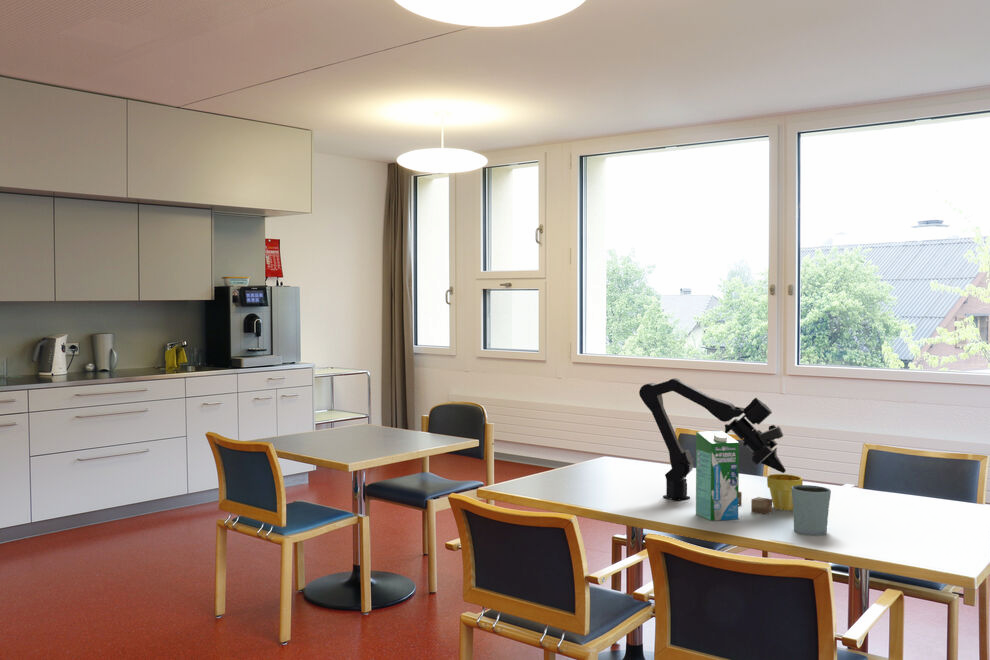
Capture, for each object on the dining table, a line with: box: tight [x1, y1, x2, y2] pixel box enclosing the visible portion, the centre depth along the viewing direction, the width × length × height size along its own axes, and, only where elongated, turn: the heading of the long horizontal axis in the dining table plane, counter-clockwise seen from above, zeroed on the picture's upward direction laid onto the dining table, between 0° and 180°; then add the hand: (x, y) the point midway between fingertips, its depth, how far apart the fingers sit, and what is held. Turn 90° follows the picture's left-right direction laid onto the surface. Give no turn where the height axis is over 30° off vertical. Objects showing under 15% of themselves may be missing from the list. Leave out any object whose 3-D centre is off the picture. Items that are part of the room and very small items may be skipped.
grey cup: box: [791, 484, 832, 536], centre depth 225 cm, size 10×10×12 cm
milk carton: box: [695, 430, 740, 522], centre depth 242 cm, size 9×9×25 cm
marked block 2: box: [750, 496, 773, 515], centre depth 248 cm, size 4×4×4 cm
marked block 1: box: [738, 491, 743, 505], centre depth 260 cm, size 4×4×4 cm
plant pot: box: [766, 473, 804, 511], centre depth 253 cm, size 10×10×10 cm
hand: (784, 471), depth 253 cm, fingers closed
